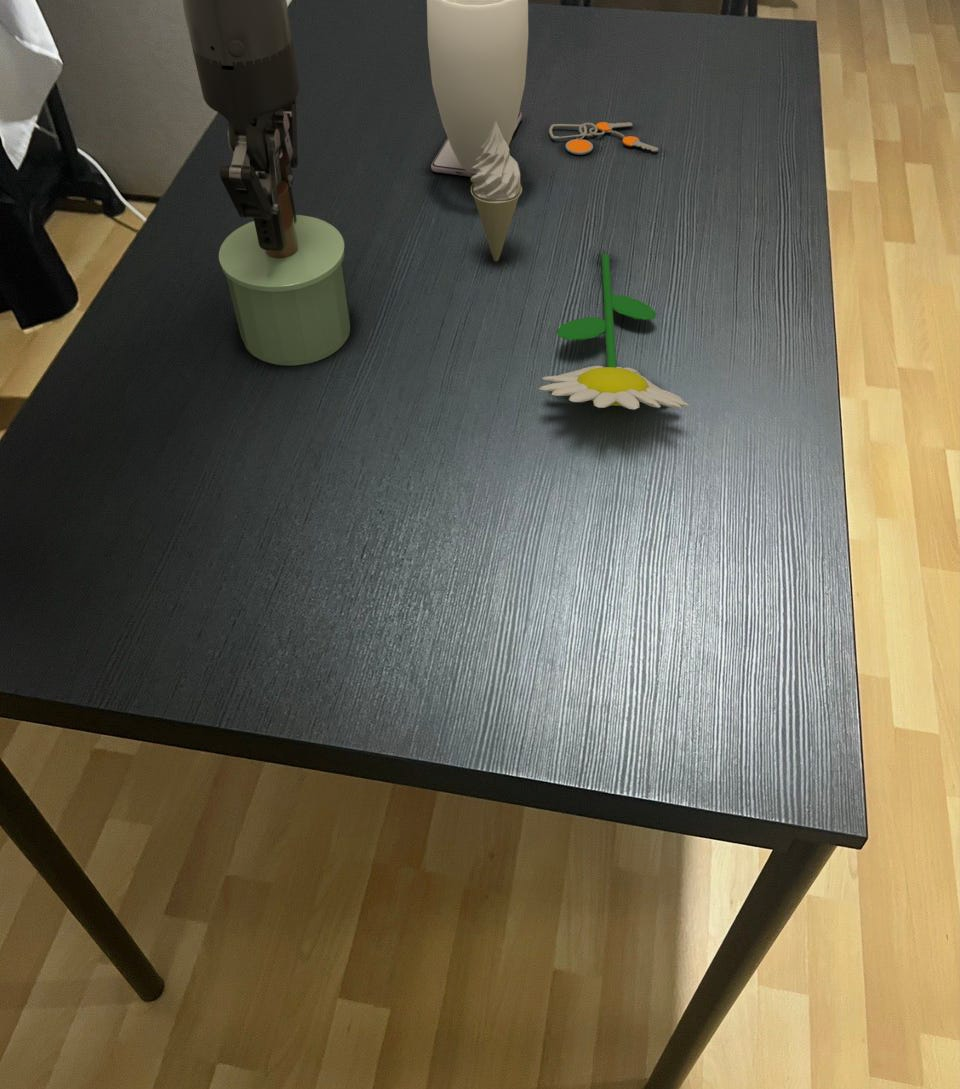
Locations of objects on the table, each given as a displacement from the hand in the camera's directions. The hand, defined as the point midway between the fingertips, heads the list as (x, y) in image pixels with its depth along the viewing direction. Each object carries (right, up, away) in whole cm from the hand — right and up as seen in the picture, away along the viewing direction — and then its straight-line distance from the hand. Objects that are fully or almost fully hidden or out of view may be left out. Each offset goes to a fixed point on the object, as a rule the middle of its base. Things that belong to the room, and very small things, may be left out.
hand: (278, 235), depth 88 cm
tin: (0, -7, +8) cm, 10 cm away
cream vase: (+18, +13, +24) cm, 33 cm away
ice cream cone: (+19, +2, +15) cm, 25 cm away
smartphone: (+18, +20, +30) cm, 40 cm away
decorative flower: (+30, -9, +6) cm, 32 cm away
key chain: (+32, +21, +31) cm, 49 cm away
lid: (0, -1, +1) cm, 2 cm away
